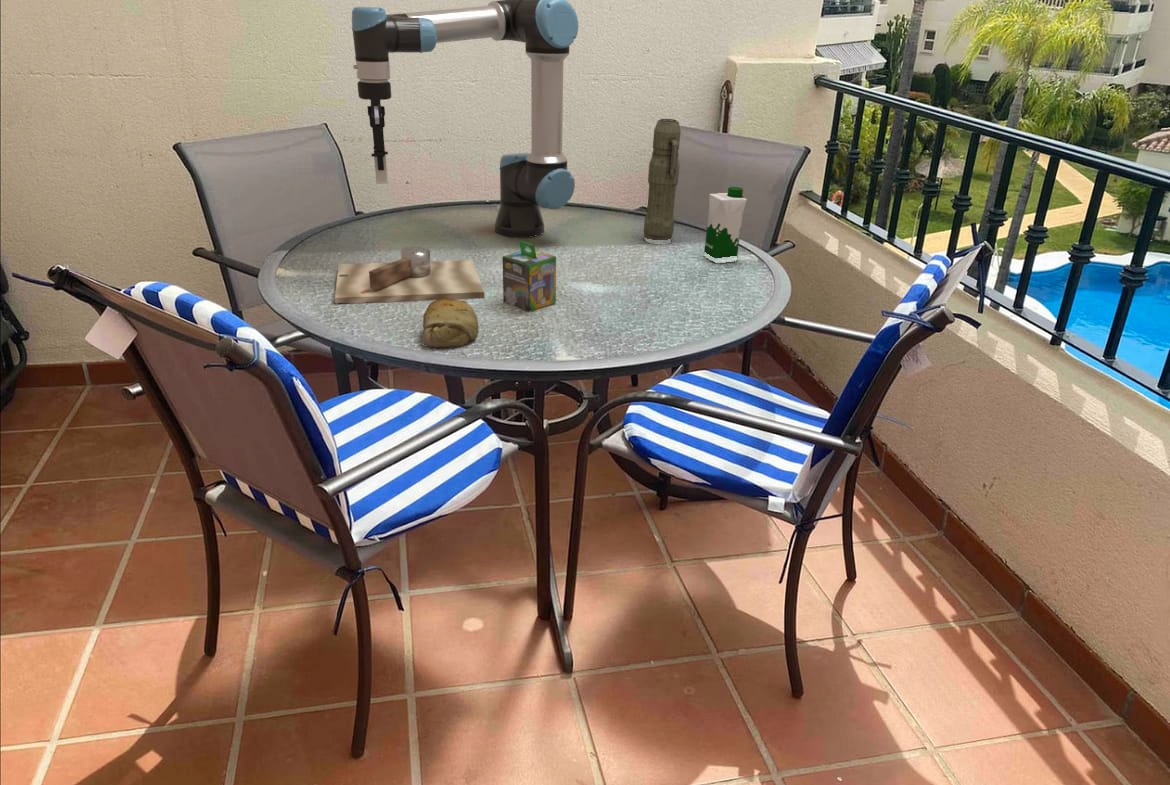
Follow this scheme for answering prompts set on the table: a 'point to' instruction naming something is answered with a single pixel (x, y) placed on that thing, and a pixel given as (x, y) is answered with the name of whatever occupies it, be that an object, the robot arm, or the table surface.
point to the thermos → (662, 180)
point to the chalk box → (529, 278)
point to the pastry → (449, 323)
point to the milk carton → (724, 223)
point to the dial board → (409, 284)
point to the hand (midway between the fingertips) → (382, 182)
